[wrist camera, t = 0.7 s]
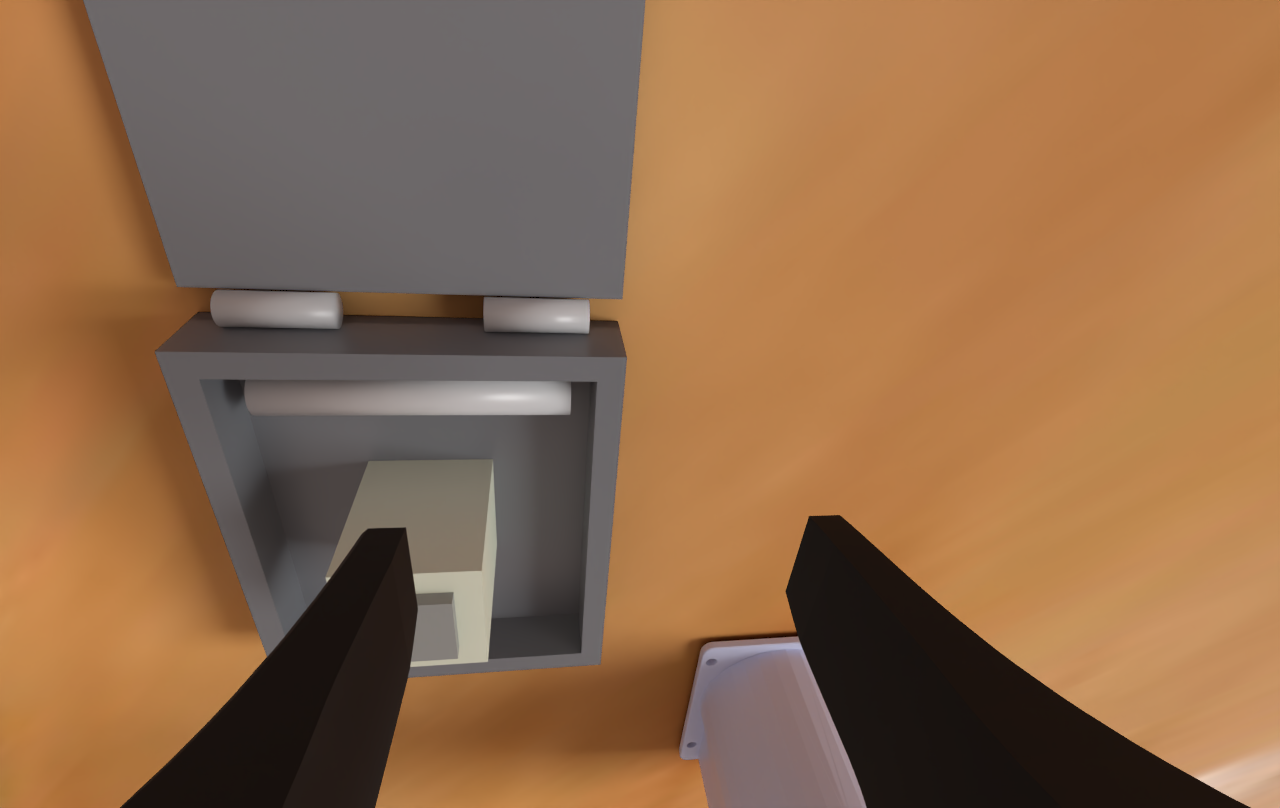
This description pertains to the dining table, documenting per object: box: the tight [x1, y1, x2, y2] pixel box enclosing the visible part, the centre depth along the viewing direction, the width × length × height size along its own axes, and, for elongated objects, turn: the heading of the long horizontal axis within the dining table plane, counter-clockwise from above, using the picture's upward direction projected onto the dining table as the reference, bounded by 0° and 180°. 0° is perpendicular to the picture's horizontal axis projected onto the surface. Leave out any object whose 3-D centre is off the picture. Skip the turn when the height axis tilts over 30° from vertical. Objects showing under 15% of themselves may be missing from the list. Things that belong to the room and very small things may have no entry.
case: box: [155, 312, 627, 678], centre depth 21 cm, size 14×12×2 cm
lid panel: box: [83, 0, 645, 334], centre depth 15 cm, size 11×12×1 cm
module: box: [325, 459, 497, 667], centre depth 20 cm, size 4×4×5 cm
